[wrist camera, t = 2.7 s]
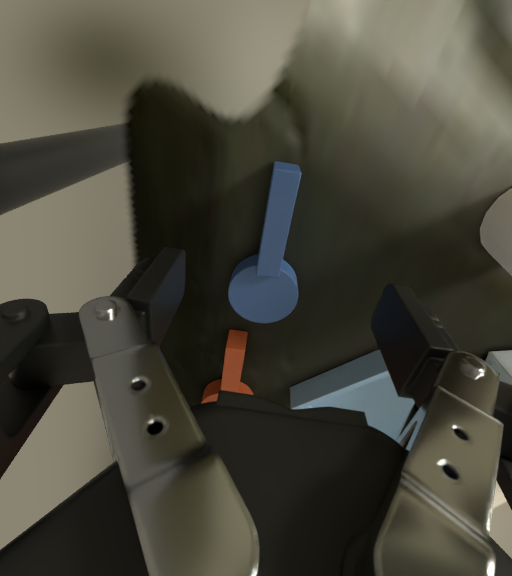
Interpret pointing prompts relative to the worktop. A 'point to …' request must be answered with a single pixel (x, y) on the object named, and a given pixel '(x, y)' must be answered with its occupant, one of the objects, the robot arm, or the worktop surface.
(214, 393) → the orange disc-ended stick
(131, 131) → the worktop surface
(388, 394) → the blue tray
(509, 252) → the white cup
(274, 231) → the blue spoon
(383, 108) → the worktop surface
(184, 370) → the worktop surface
